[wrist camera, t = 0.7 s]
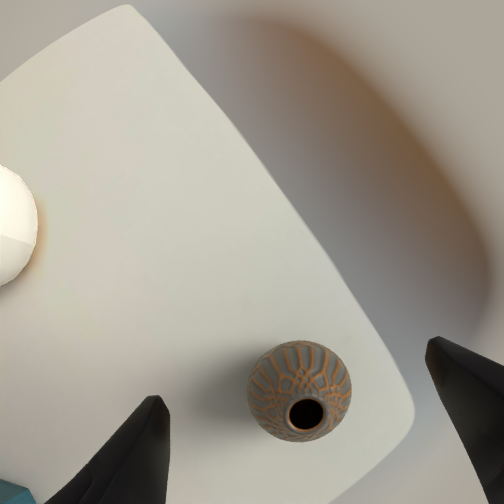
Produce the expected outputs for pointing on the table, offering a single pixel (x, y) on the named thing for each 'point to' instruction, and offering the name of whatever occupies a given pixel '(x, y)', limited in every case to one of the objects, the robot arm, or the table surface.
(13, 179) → the cup
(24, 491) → the teal rectangular box
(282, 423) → the vase
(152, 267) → the table surface
